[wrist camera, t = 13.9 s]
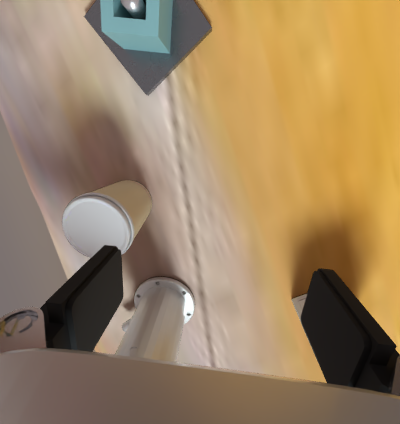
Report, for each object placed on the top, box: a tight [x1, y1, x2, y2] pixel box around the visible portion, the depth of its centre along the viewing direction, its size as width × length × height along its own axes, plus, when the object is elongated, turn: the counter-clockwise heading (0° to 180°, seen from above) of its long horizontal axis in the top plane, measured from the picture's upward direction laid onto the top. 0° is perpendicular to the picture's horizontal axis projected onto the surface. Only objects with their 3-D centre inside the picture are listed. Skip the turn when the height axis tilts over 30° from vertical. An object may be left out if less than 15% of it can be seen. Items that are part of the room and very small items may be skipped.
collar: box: [100, 0, 173, 54], centre depth 26 cm, size 6×6×6 cm
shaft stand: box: [84, 0, 212, 95], centre depth 27 cm, size 12×12×7 cm
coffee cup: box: [62, 180, 152, 258], centre depth 34 cm, size 9×9×12 cm
